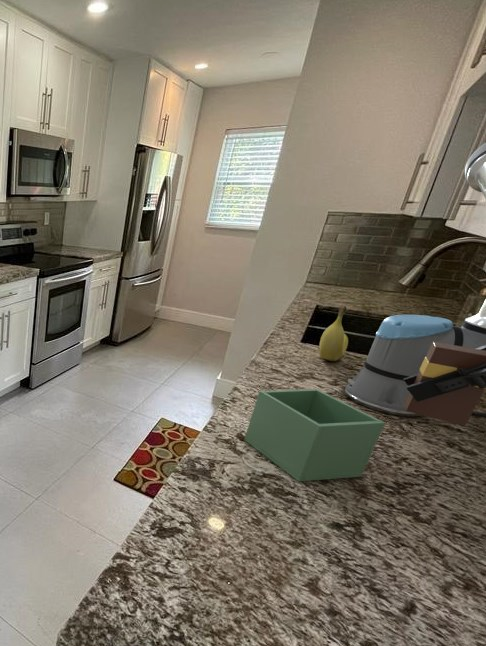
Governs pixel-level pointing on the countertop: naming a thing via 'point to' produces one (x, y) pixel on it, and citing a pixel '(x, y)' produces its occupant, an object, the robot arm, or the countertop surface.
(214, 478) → the countertop surface
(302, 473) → the trash bin
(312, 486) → the countertop surface
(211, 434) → the countertop surface
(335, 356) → the banana
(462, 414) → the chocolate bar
